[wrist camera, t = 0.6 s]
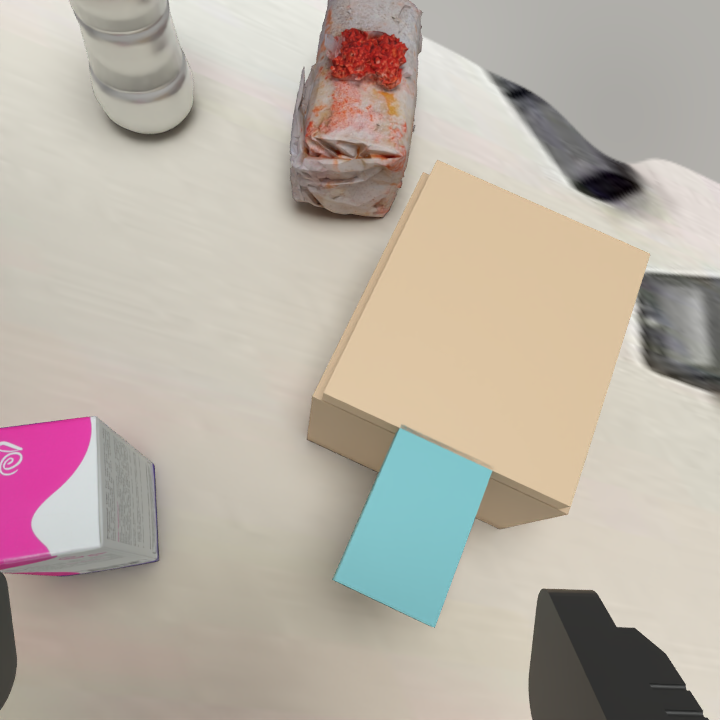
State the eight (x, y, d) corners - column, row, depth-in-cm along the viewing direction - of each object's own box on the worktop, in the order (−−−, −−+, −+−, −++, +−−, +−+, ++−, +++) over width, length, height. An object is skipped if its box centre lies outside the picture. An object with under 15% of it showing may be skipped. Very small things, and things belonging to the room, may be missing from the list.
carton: (307, 439, 39) (312, 396, 30) (394, 258, 44) (423, 172, 34) (499, 529, 38) (568, 514, 29) (567, 336, 43) (644, 270, 34)
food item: (397, 235, 44) (426, 146, 35) (284, 220, 44) (283, 125, 35) (410, 82, 49) (438, -34, 40) (308, 66, 48) (312, -55, 39)
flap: (252, 542, 27) (251, 540, 26) (432, 173, 34) (437, 159, 33) (509, 663, 27) (519, 667, 25) (638, 264, 34) (650, 253, 32)
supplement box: (155, 459, 38) (100, 412, 27) (160, 562, 36) (104, 556, 25) (52, 472, 37) (-46, 430, 26) (53, 578, 35) (-53, 580, 24)
